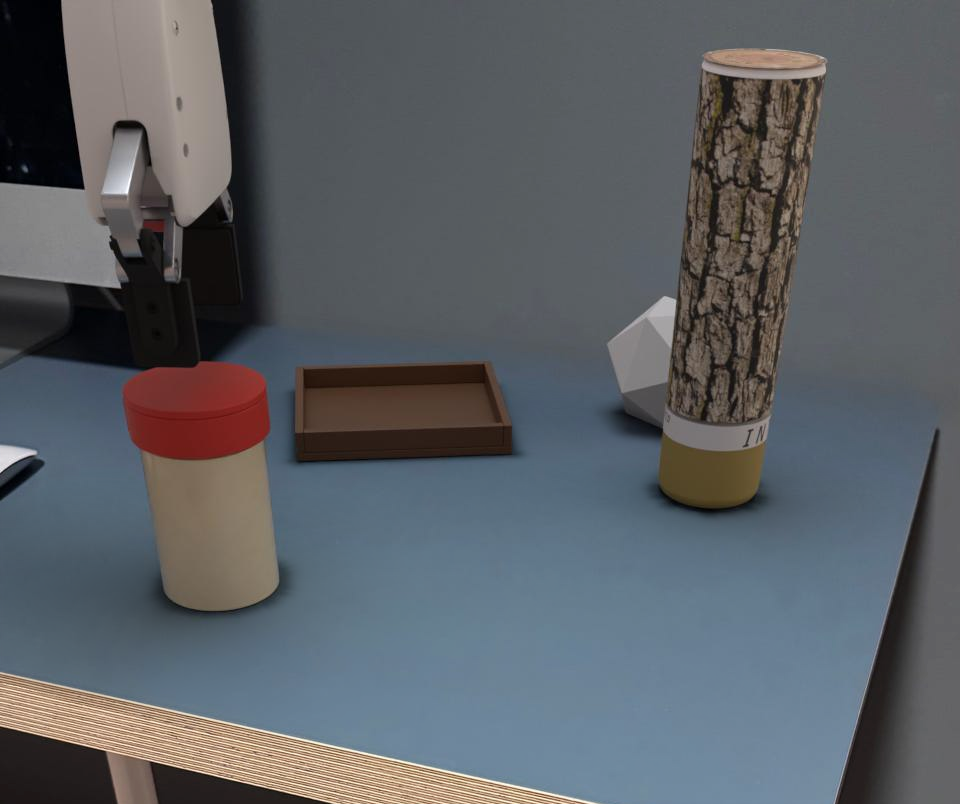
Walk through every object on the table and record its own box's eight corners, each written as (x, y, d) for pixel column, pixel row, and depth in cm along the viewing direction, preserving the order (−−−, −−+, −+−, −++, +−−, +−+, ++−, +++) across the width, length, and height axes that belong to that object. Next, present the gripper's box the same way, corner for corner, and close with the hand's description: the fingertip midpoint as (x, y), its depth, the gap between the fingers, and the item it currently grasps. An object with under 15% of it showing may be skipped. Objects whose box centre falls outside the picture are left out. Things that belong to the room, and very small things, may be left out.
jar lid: (121, 462, 65) (112, 414, 64) (136, 407, 71) (128, 363, 69) (269, 456, 66) (264, 409, 64) (271, 403, 72) (267, 359, 70)
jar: (158, 614, 71) (124, 420, 64) (168, 558, 77) (137, 374, 69) (278, 608, 72) (258, 416, 65) (280, 554, 77) (261, 370, 70)
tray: (297, 461, 88) (294, 432, 87) (297, 393, 98) (295, 366, 97) (511, 454, 89) (512, 425, 88) (490, 387, 99) (490, 360, 98)
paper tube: (656, 510, 82) (704, 66, 66) (656, 468, 88) (700, 47, 71) (760, 515, 82) (834, 70, 66) (754, 473, 87) (821, 50, 71)
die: (749, 433, 94) (738, 298, 94) (713, 408, 86) (701, 259, 86) (643, 457, 98) (632, 327, 98) (599, 434, 90) (587, 293, 90)
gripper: (106, -90, 61) (164, 283, 72) (-29, -60, 48) (69, 391, 59) (258, -91, 60) (294, 285, 71) (165, -60, 47) (227, 395, 58)
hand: (192, 332), depth 65 cm, fingers open, 9 cm apart
